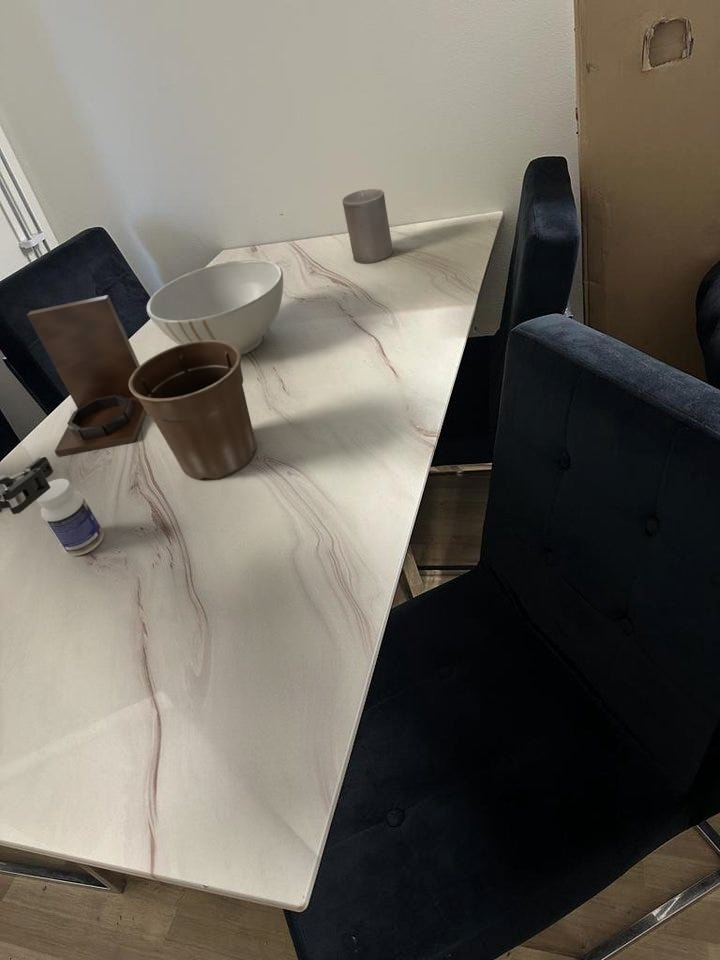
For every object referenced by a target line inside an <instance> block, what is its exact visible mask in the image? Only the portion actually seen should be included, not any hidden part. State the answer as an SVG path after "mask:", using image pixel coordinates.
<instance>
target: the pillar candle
mask: <svg viewBox="0 0 720 960" xmlns="http://www.w3.org/2000/svg"><path fill="white" fill-rule="evenodd" d="M385 197H386V196H385V192H384V191H383V190H382V189H379V188H378V189H377V188H376V189H375V188H370V189H360V190H358V191H354V192H352V193H349V194H347V195H346V196H344V197H343V198H342V207H343V211H344V217H345V222H346V227H347V232H348V236H349V241H350V242H349V243H350V247H351V253H352V259H353V261H354V262H356V263H358V264H373V263H377V262H380V261H383V260H386V259H387V258H389V257H390V256H392V254H393V251H394V248H393V241H392V236H391V235H392V234H391V230H390V224H389V218H388V210H387V204H386V198H385Z"/></svg>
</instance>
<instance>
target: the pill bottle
mask: <svg viewBox="0 0 720 960" xmlns="http://www.w3.org/2000/svg"><path fill="white" fill-rule="evenodd" d="M47 482H48V484H49V485H50V487H51V488H50V489H49V490H48V491H46V492H45V493H44V494H43V495H41V496H40V497H39V498H38V499H36V500H35V501H36V503H37V505H38V506H39V507H41V508H40V515H41V518H42V520H43V521H44V523H45V524H46V525H47V527H48V528H49V530H50V532H51V534H52V535H53V536H54V537H55V540H56V541H57V543H58V544H59V545H60V547H61V548H62V550H63V551H64V552H65V554H67V555H69V556H73V557H76V556H83V555H86V554H89V553H90V552H92V551H93V550H95V549H96V548H97V547H98V546H100V544H101V543H102V541H103V539H104V536H105V535H104V530H103V528H102V526H101V525H100V523H99V521H98V519H97V518H96V516H95V514H94V513H93V511H92V509H91V508H90V506H89V504H88V503H87V501H86V499H85V498H84V497H83V495H82V494H81V493H80V492H79V491H76V490H74V486H72V484H71V482H70V481H69V480H68V479H66V478H56V479H52V480H51V481H47Z"/></svg>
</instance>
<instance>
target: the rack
mask: <svg viewBox="0 0 720 960" xmlns="http://www.w3.org/2000/svg"><path fill="white" fill-rule="evenodd" d="M26 316H27V318H28V320H29V321H30V323H31V325H32V327H33V329H34V331H35V333H36V334H37V336H38V338H39V340H40V342H41V344H42V346H43V348H44V349H45V351H46V353H47V355H48V356H49V359H50V360H51V362H52V364H53V366H54V367H55V370H56V371H57V373H58V375H59V378H60V379H61V380H62V382H63V384H64V386H65V388H66V390H67V391H68V394H69V395H70V397H71V399H72V401H73V402H74V404H75V407H76V409H75V410H74V411H73V412H72V413H71V416H70V418H69V419H68V421H67V423H66V424H67V427H66V428H65V430H64V433H63V435H62V436H61V438H60V440H59V442H58V443H57V446H56V448H55V450H54V453H55V455H56V456H57V457H64V456H68V455H74V454H79V453H84V452H90V451H95V450H100V449H106V448H111V447H116V446H122V445H127V444H133V443H136V442H137V439H138V437H139V434H140V431H141V429H142V427H143V424H144V422H145V418H146V415H147V414H148V413H147V412H146V410H145V409H144V407H143V405H142V404H141V402H140V400H139V399H138V398H137V397H135V396H134V395H133V394H132V392H131V390H130V388H129V380H130V378H131V376H132V374H133V373H134V371H135V370H136V369H137V368H138V367H139V366H141V364H140V362H139V360H138V357H137V355H136V352H135V351H134V349H133V346H132V345H131V342H130V340H129V337H128V336H127V333H126V331H125V329H124V327H123V324H122V322H121V320H120V318H119V316H118V313H117V311H116V309H115V306H114V304H113V302H112V300H111V298H110V295H109V294H107V295H106V294H105V295H102V296H101V295H100V296H97V297H92V298H88V299H83V300H77V301H73V302H69V303H64V304H58V305H55V306H53V305H52V306H50V307H45V308H40V309H39V308H38V309H35V310H30V311H29V312H28V314H27V315H26Z"/></svg>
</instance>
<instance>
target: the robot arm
mask: <svg viewBox="0 0 720 960" xmlns="http://www.w3.org/2000/svg"><path fill="white" fill-rule="evenodd" d="M53 473H54V468H53V467H52V465H51V462H50V461H49V459H48V458H47V457H46V456H41V457H38V458H37V459H35V460H34V461H33V462H32V463H31V464H29V465H27V466H26V467H25V468H24V469H21V471H19V472H17V473H15V474H13V475H10V476H7V475H0V485H2V486H3V488H4V490H3V491H2V492H0V515H2V514H3V513H5V512H8V511H10V512H11V514H12V515H17V514H20V513H22V512H23V511H25V509H27V508H28V507H29V506H30V505H32V504H33V503H34V502H35V501H36V499H38V498H39V497H40V496H41V495H43V494H44V493H45V492H46V491H48V490H49V489H50V488H51V487H50V485H49V484H48V482H49V481H48V480H47V479H48V478H49V477H50V476H51V475H52V474H53Z"/></svg>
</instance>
